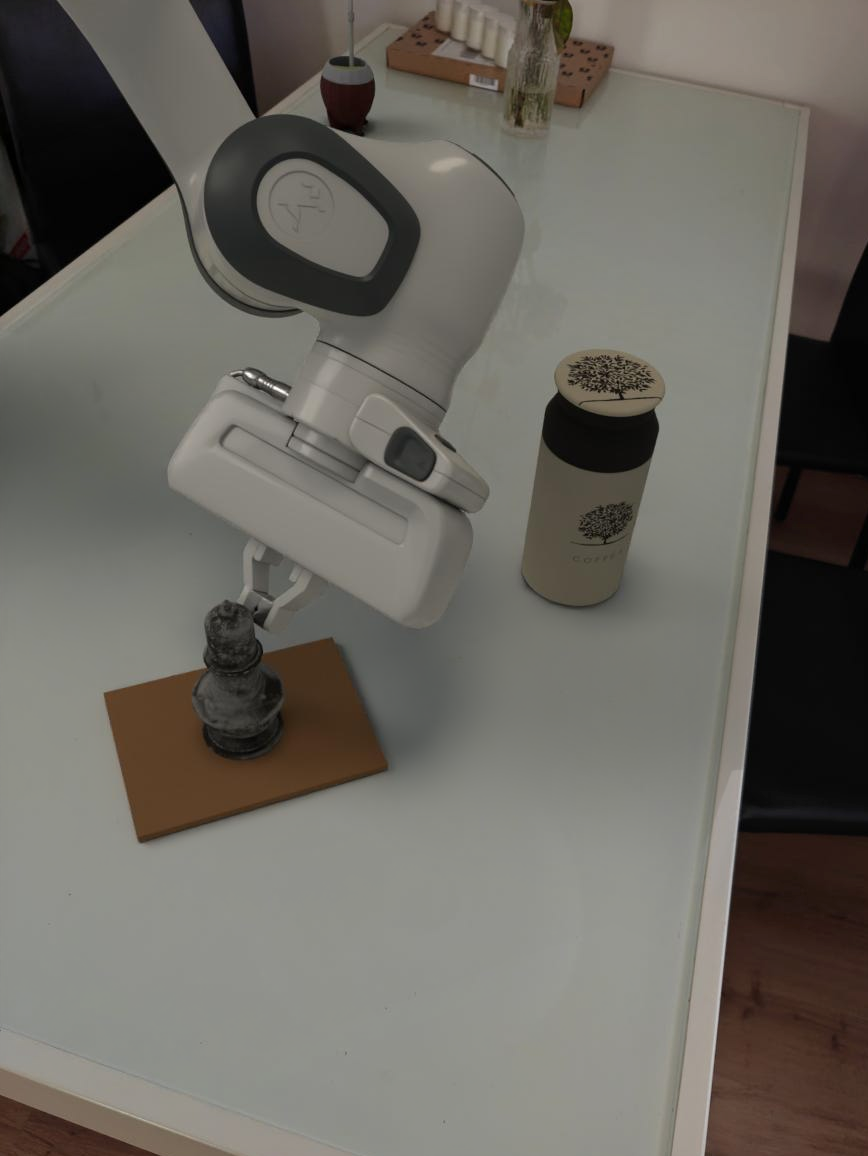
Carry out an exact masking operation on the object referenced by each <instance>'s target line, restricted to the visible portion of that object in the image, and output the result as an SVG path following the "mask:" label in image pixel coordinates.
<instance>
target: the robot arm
mask: <svg viewBox="0 0 868 1156" xmlns="http://www.w3.org/2000/svg"><path fill="white" fill-rule="evenodd" d="M56 1H57V2H58V4H59V5H60V6H61V7H62V9H63V10H64V11H65V12H66V14H67V15H68V16H69V17H70V19H71V20H72V21H73V23H74V24H75V26H76V27H77V28H78V30H79V31H80V33H81V34H82V36H83V37H84V39H85V40H86V42H87V43H88V45H89V46H90V48H91V50H92V51H93V53H94V54H95V56H96V58H98V60H99V62H100V63H101V65H102V66H103V68H104V70H105V71H106V73H107V75H108V76H109V78H110V79H111V81H112V82H113V84H114V86H115V87H116V89H117V90H118V93H120V95H121V97H122V98H123V100H124V101H125V103H126V105H127V106H128V108H129V110H130V111H131V113H132V114H133V116H134V117H135V119H136V120H137V122H138V124H139V125H140V127H141V129H142V130H143V132H144V133H145V135H146V137H147V138H148V139H149V141H150V142H151V144H152V146H153V148H154V149H155V150H156V152H157V154H158V156H159V158H160V159H161V160H162V162H163V164H164V166H165V167H166V170H167V171H168V173H169V175H170V177H171V179H172V181H173V183H174V185H175V187H176V191H177V194H178V198H179V201H180V206H181V210H182V215H183V222H184V225H185V231H186V236H187V242H188V246H189V249H190V252H191V255H192V257H193V258H192V259H193V262H194V263H195V266H196V268H197V270H198V272H199V273H200V275H201V276H202V278H203V280H204V281H205V283H206V284H207V285H208V286H209V288H210V289H211V290H212V291H213V292H214V293H215V295H217V296H218V297H219V298H221V300H223V301H224V302H226V304H228V305H230V306H231V307H233V308H234V309H237V310H239V311H241V312H242V313H243V312H244V313H246V314H249V315H251V316H256V317H258V318H267V319H281V318H288V317H293V316H296V315H299V314H302V313H306V314H308V315H310V316H311V317H313V318H314V319H316V321H317V322H318V324H319V332H318V334H317V336H316V338H315V341H313V344H312V346H311V348H310V351H309V352H308V355H307V356H306V358H305V360H304V363H303V364H302V366H301V368H300V371H299V372H298V375H297V376H296V378H295V380H294V382H293V385H292V386H291V385H289V384H287V383H285V382H283V381H280V380H277V379H275V378H273V377H271V376H268V375H267V374H266V373H265V372H264V371H262V370H260V369H258V368H255V367H252V366H248V367H245V368H244V369H235V370H233V371H231V372H229V373H227V374H224V375H223V376H221V378H220V379H219V380H218V382H217V383H216V385H215V388H214V390H213V392H212V394H211V396H210V398H209V400H208V401H207V402H206V404H205V405H204V407H202V409H201V411H199V413H198V415H197V416H196V418H195V419H194V421H193V422H192V423H191V425H190V426H189V427H188V430H187V431H186V432H185V434H184V436H183V437H182V439H181V440H180V442H179V445H178V446H177V447H176V449H175V450H174V453H173V455H172V456H171V458H170V460H169V462H168V465H167V470H166V471H167V482H168V487H169V488H170V490H173V492H175V493H177V494H179V495H181V497H184V498H185V499H187V500H189V501H190V502H192V503H194V504H196V505H197V506H199V507H201V508H202V509H204V510H206V511H207V512H209V513H211V514H212V515H214V516H216V517H218V518H219V519H221V520H222V521H224V522H226V523H228V524H230V525H231V526H233V527H234V528H237V529H238V530H240V531H241V532H243V533H244V534H246V535H247V536H249V540H248V542H247V543H246V545H245V547H244V549H243V550H242V551H243V552H242V570H243V571H242V573H243V574H242V575H243V578H242V579H243V585H244V587H243V589H242V592H240V595H239V597H238V599H237V601H236V603H239V604H241V605H243V606H245V607H246V608H248V609H249V610H250V612H251V614H252V616H253V620H254V625H255V626H258V627H259V628H260V629H262V630H263V631H265V632H267V633H268V634H271V635H277V636H278V635H279V636H280V635H282V634H283V633H284V632H285V631H286V629H287V627H288V625H289V623H290V622H291V619H292V618H293V616H294V613H295V612H298V611H299V610H300V609H302V608H304V607H306V606H307V605H308V604H310V603H312V602H313V601H315V600H316V599H317V598H319V597H320V596H322V595H323V594H324V592H325V590H326V588H327V586H328V584H331V586H333V587H335V588H337V589H339V590H341V591H342V592H344V593H346V594H347V595H349V596H351V597H352V598H354V599H356V600H358V601H359V602H360V603H363V604H364V605H366V606H368V608H371V609H373V610H375V611H376V612H377V613H380V614H381V615H383V616H385V617H386V618H387V619H389V620H391V621H393V622H394V623H396V624H398V625H400V626H404V627H407V628H411V629H417V630H423V629H425V628H427V627H430V626H432V625H433V624H436V623H437V622H439V620H440V619H441V618H443V617H442V616H443V615H444V613H445V612H446V610H447V608H448V606H449V604H450V602H451V600H452V598H453V595H454V594H455V592H456V589H457V587H458V584H459V582H460V581H461V578H462V575H463V573H464V570H465V568H466V565H467V563H468V560H469V557H470V554H471V551H472V547H473V542H474V541H473V540H474V529H473V525H472V522H471V521H470V518H469V517H468V516H467V514H473V515H474V514H477V513H479V512H481V510H482V509H483V508H484V506H485V505H486V503H487V501H488V499H489V497H490V493H491V489H490V486H489V484H488V483H487V481H486V480H485V479H484V478H483V477H482V476H481V475H480V474H479V473H478V471H476V469H474V468H473V466H471V464H470V463H469V462H468V461H467V460H466V459H465V458H463V456H462V455H461V454H460V453H459V452H458V451H457V449H456V448H455V447H454V446H453V444H451V442H450V441H448V440H447V439H446V438H445V437H444V436H443V435H442V434H441V433H440V429H439V428H440V426H441V424H442V423H443V420H444V419H445V417H446V415H447V413H448V411H449V409H450V406H451V403H452V398H453V392H454V388H455V385H456V382H457V380H458V378H459V375H460V374H461V371H462V370H463V369H464V367H465V366H466V364H467V363H468V362H469V361H470V359H472V358H473V357H474V355H475V354H476V353H477V352H478V351H479V350H480V348H481V346H482V345H483V343H484V341H485V339H486V337H487V334H488V333H489V331H490V330H491V329H490V328H491V327H492V325H493V323H494V320H495V319H496V316H497V314H498V312H499V310H500V308H501V306H502V303H503V302H504V299H505V297H506V294H507V292H508V290H509V287H510V284H511V282H512V280H513V277H514V274H515V273H516V269H517V267H518V263H519V260H520V257H521V255H522V251H523V246H524V243H525V242H524V240H525V236H526V235H525V234H526V223H525V217H524V214H523V211H522V209H521V206H520V203H519V202H518V200H517V198H516V194H514V192H513V191H512V189H511V188H510V187H509V185H508V184H507V183H506V181H505V180H504V179H503V178H502V177H501V176H500V174H498V172H497V171H496V170H494V169H493V167H491V166H490V165H489V164H488V163H487V162H486V161H485V160H483V159H482V158H481V157H479V156H478V155H477V154H476V153H472V152H471V151H469V150H467V149H466V148H464V147H463V146H461V145H459V144H457V143H454V142H452V141H450V140H447V139H439V138H437V139H436V138H435V139H432V140H426V141H422V142H421V141H420V142H399V141H389V140H388V141H387V140H381V139H380V140H379V139H374V138H368V137H365V136H362V137H360V136H358V135H356V134H354V133H349V132H346V131H340V130H337V129H334V128H331V127H330V126H327V125H324V124H322V123H321V122H318V121H317V120H314V119H312V118H309V117H305V116H302V115H297V114H289V113H276V114H268V115H264V116H260V117H256V116H255V115H254V113H253V111H252V110H251V107H250V106H249V104H248V102H247V100H246V99H245V97H244V95H243V94H242V91H241V90H240V89H239V87H238V85H237V83H236V82H235V79H234V78H233V76H232V75H231V73H230V71H229V69H228V67H227V65H226V63H225V62H224V60H223V59H222V57H221V55H220V53H219V52H218V50H217V48H216V47H215V44H214V42H213V41H212V39H211V37H210V36H209V34H208V32H207V31H206V29H205V27H204V25H203V23H202V21H201V20H200V18H199V17H198V15H197V13H196V10H195V9H194V8H193V5H192V4H191V2H190V0H56ZM239 377H241V380H240V379H238V378H239ZM466 513H467V514H466ZM284 557H285V558H287V559H288V560H290V561H292V562H293V563H295V565H294V567H293V569H292V571H291V573H290V575H289V577H288V580H289V581H290V582H292V583H294V585H293V586H292V587H290V588H289V589H287V590H286V591H285V592H283V593H282V594H281V595H279V596H278V597H277V598H276V597H274V596H273V595H271V594H270V578H271V577H270V576H271V566H274V567H279V565H280V564H281V562H282V560H283V558H284Z"/></svg>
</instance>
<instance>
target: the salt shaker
mask: <svg viewBox="0 0 868 1156" xmlns="http://www.w3.org/2000/svg"><path fill="white" fill-rule="evenodd" d="M203 622H204V623H203V625H204V633H205V638H206V645H205V647H204V649H203V651H202V652H203V653H202V660H203V664H204V665H205V668H208V670H207V671H205V672H204V673H203V674H202V675H201V676H200V677H199V678H198V680H197V681H196V683H195V685H194V687H193V690H192V695H191V700H192V706H193V709H194V711H195V712H196V714H197V716H198V717H199V718H200V719H201V720H202V721H203V727H202V732H203V738H204V741H205V743H206V744H207V746H208V747H209V748H210V749H211V750H212V751H213V752H214V753H216V754H218V755H219V756H221V757H224V758H228V759H232V760H247V759H252V758H256V757H258V756H261V755H263V754H265V753H267V752H268V751H269V750H271V749H272V748H273V747H274V746H275V745H276V744H277V743H278V742H279V740H280V738H281V736H282V734H283V728H284V722H283V717H282V714H281V713H280V711H279V710H280V709H281V707H282V705H283V703H284V701H285V692H286V690H285V685H284V681H283V680H282V678H281V676H280V675H279V673H278V672H276V671H275V670H274V669H273V668H272V667H270V666H268V665H266V664H264V663H262V662H261V660H262V658H263V654H264V648H263V645H262V643H261V641H260V640H259V639H258V638H257V637H256V629H255V623H254V620H253V616H252V614H251V612H250V610H249V609H248V608H246V607H245V606H243V605H241V604H239V603H237V602H235V601H230V600H228V599H224V600H223V601H222V602H221V603H218V604H216V605H215V606H213V607H212V608H211V609H210V610H209V611H207V613H206V615H205V618H204V621H203Z"/></svg>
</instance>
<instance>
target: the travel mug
mask: <svg viewBox="0 0 868 1156" xmlns="http://www.w3.org/2000/svg"><path fill="white" fill-rule="evenodd" d="M553 379H554V385H555V386H556V388H557V392H556V393H555V395H554V396H553V397H552V398H551V399H549V401H548V403H547V405H546V406H545V410H544V415H543V421H542V428H541V434H540V440H539V448H538V454H537V459H536V460H537V461H536V467H535V474H534V479H533V487H532V494H531V500H530V505H529V513H528V519H527V524H526V532H525V539H524V544H523V545H524V546H523V551H522V557H521V567H520V568H521V573H522V576H523V578H524V581H526V583H527V584H528V586H529V587H530V588H531V589H532V590H533V591H535V592H536V593H537V594H538V595H540V596H541V597H543V598H545V599H547V600H549V601H551V602H554V603H556V604H561V605H566V606H573V607H584V606H591V605H595V604H598V603H602V602H604V601H606V600H607V599H609V598H610V597H612V596H613V595H614V594H615V593H616V592H617V590H618V589H619V587H620V584H621V581H622V577H623V574H624V571H625V565H626V562H627V557H628V554H629V550H630V546H631V543H632V538H633V535H634V531H635V526H636V522H637V519H638V514H639V511H640V508H641V504H642V499H643V495H644V491H645V487H646V484H647V480H648V476H649V473H650V468H651V464H652V460H653V456H654V452H655V448H656V444H657V440H658V437H659V432H660V422H659V419H658V416H657V414H656V408H657V407H658V406H659V405H660V404H661V402H662V401H663V400H664V397H665V396H666V382H665V380H664V378H663V376H662V374H661V373H660V372H659V371H658V370H657V369H656V368H655V367H654V366H653V365H651V364H650V363H649V362H647V361H646V360H644V359H643V358H640V357H638V356H636V355H633V354H631V353H628V352H624V351H620V350H614V349H606V348H593V349H591V348H590V349H585V350H580V351H576V352H574V353H571V354H569V355H567V356H566V357H564V358H563V359H561V360H560V362H559V363H558V364H557V365H556V367H555V370H554V374H553Z"/></svg>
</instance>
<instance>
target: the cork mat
mask: <svg viewBox="0 0 868 1156" xmlns="http://www.w3.org/2000/svg"><path fill="white" fill-rule="evenodd" d="M261 662H262V663H264V664H266V665H268V666H270V667H272V668H273V669H274V670H275V671H276V672H278V673H279V675H280V676H281V678H282V680H283V681H284V685H285V690H286V692H285V701H284V703H283V705H282V707H281V709H280V710H279V711H280V713H281V714H282V717H283V722H284V728H283V734H282V736H281V738H280V740H279V742H278V743H277V744H276V745H275V746H274V747H273V748H272V749H271V750H269V751H268V752H267V753H265V754H263V755H261V756H258V757H256V758H252V759H247V760H232V759H228V758H224V757H221V756H219V755H218V754H216V753H214V752H213V751H212V750H211V749H210V748H209V747H208V746H207V744H206V743H205V741H204V738H203V732H202V727H203V721H202V720H201V719H200V718H199V717H198V716H197V714H196V712H195V711H194V709H193V706H192V700H191V695H192V690H193V687H194V685H195V683H196V681H197V680H198V678H199V677H200V676H201V675H202V674H203V673H204V672H205V671H207V670H208V668H207V667H202V668H199V669H194V670H190V671H187V672H183V673H178V674H174V675H170V676H167V677H162V678H159V679H154V680H149V681H146V682H142V683H138V684H133V685H130V686H125V687H121V688H117V689H113V690H109V691H106V692H103V699H104V702H105V706H106V711H107V715H108V719H109V724H110V726H111V732H112V736H113V741H114V744H115V749H116V754H117V758H118V763H119V766H120V770H121V774H122V779H123V783H124V787H125V792H126V796H127V800H128V801H127V802H128V804H129V807H130V808H129V809H130V813H131V817H132V821H133V825H134V830H135V834H136V838H137V842H138V843H143V842H145V841H149V840H152V839H156V838H159V837H164V836H166V835H169V834H172V833H177V832H180V831H184V830H186V829H187V830H188V829H190V828H193V827H197V826H200V825H204V824H207V823H211V822H214V821H217V820H221V819H223V818H227V817H230V816H231V817H232V816H234V815H235V816H236V815H238V814H242V813H244V812H248V811H251V810H255V809H258V808H261V807H265V806H268V805H272V804H275V803H279V802H282V801H286V800H289V799H292V798H296V797H298V796H302V795H306V794H310V793H313V792H316V791H319V790H323V789H326V787H327V788H330V787H334V786H337V785H339V784H343V783H347V782H351V781H353V780H357V779H360V778H364V777H367V776H371V775H375V774H378V773H381V772H384V771H387V770H388V769H389V764H388V761H387V759H386V757H385V754H384V751H383V750H382V747H381V745H380V743H379V741H378V739H377V736H376V733H375V731H374V730H373V727H372V725H371V722H370V720H369V717H368V715H367V713H366V710H365V709H364V707H363V703H362V701H361V699H360V697H359V695H358V692H357V690H356V688H355V686H354V683H353V681H352V679H351V677H350V674H349V672H348V669H347V667H346V665H345V662H344V661H343V658H342V656H341V653H340V651H339V649H338V647H337V645H336V643H335V640H334V638H333V636H329V637H326V638H321V639H317V640H314V641H310V642H305V643H301V644H297V645H293V646H289V647H285V648H281V649H277V650H272V651H269V652H265V653H264V652H263V658H262V660H261ZM377 772H378V773H377ZM370 774H371V775H370ZM336 784H337V785H336ZM329 786H330V787H329Z"/></svg>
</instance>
